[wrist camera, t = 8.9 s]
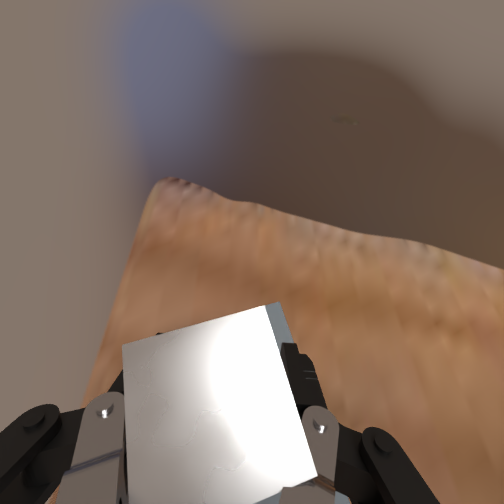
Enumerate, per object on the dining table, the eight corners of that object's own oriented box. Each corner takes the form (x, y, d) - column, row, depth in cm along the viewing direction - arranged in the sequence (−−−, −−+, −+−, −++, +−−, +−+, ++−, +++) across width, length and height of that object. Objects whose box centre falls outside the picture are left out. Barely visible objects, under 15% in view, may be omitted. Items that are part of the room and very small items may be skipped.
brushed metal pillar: (249, 341, 17) (264, 305, 8) (269, 413, 15) (317, 476, 6) (186, 360, 16) (121, 344, 7) (198, 439, 14) (131, 555, 5)
